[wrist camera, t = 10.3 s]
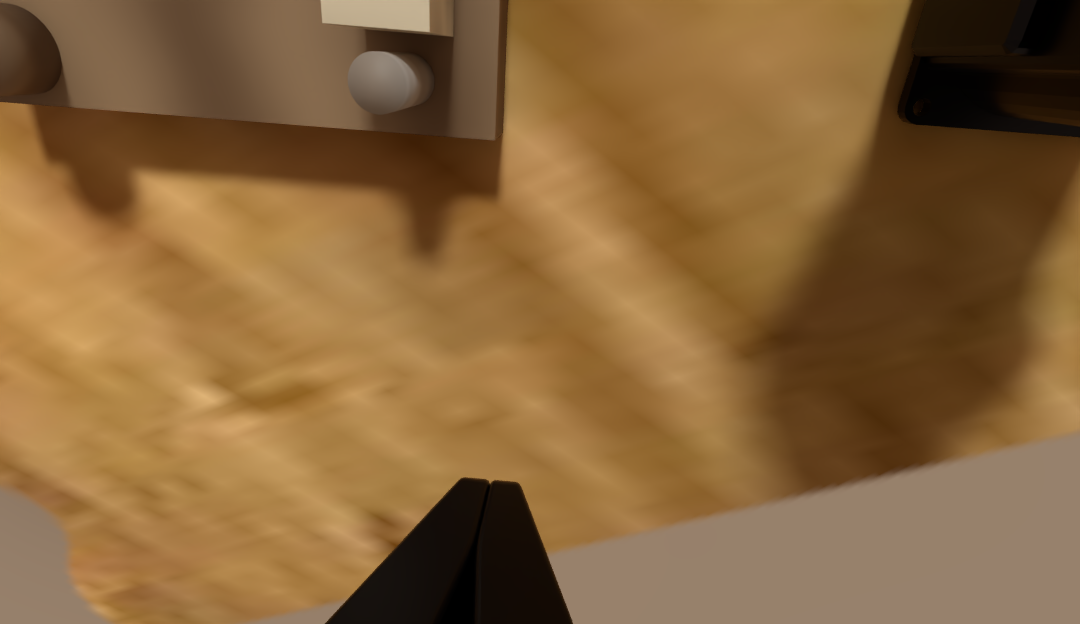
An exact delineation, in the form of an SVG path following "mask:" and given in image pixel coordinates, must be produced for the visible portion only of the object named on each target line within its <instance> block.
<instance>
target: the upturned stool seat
mask: <svg viewBox="0 0 1080 624" xmlns="http://www.w3.org/2000/svg"><path fill="white" fill-rule="evenodd" d="M507 10H508V0H454V25H453V37H450V36H438V35H426V34H415V33H403V32H391V31H380V30H368V29H359V28H353V27H346V26H339V25H333V24H326V23H322V12H321V0H0V102H9V103H22V104H35V105H47V106H60V107H73V108H86V109H99V110H111V111H124V112H137V113H150V114H163V115H175V116H188V117H201V118H214V119H227V120H239V121H252V122H265V123H278V124H291V125H303V126H316V127H329V128H342V129H354V130H367V131H380V132H393V133H406V134H418V135H431V136H444V137H457V138H470V139H482V140H496V139H497V138H498V137H499V136H500V135H501V134H502V133H503V114H504V88H505V62H506V36H507Z"/></svg>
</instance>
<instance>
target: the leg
mask: <svg viewBox="0 0 1080 624" xmlns="http://www.w3.org/2000/svg"><path fill="white" fill-rule="evenodd" d="M321 12H322V23H326V24H333V25H339V26H346V27H353V28H359V29H368V30H380V31H391V32H403V33H415V34H426V35H438V36H450V37H453V25H454V0H321Z"/></svg>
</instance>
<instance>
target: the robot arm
mask: <svg viewBox="0 0 1080 624" xmlns="http://www.w3.org/2000/svg"><path fill="white" fill-rule="evenodd" d="M912 49H913V51H914V53H915V54H914V57H913V60H912V63H911V67H910V70H909V73H908V76H907V79H906V82H905V86H904V89H903V92H902V95H901V98H900V101H899V105H898V115H899V118H900V119H901V120H902V121H903V122H907V123H910V124H916V125H928V126H941V127H954V128H968V129H981V130H994V131H1007V132H1020V133H1033V134H1046V135H1059V136H1072V137H1080V0H926V2H925V5H924V8H923V11H922V14H921V18H920V21H919V24H918V27H917V30H916V34H915V37H914V40H913V43H912ZM920 99H922V101H923V102H924V103H923V108H922V110H921V111H920V112H919V113H918V114H914V112H913V106H914V105H915V103H916V102H917V101H918V100H920ZM325 624H573V623H572V619H571V617H570V614H569V611H568V609H567V606H566V603H565V601H564V599H563V596H562V593H561V590H560V588H559V585H558V582H557V580H556V577H555V574H554V572H553V569H552V567H551V564H550V561H549V559H548V556H547V553H546V551H545V548H544V545H543V543H542V540H541V538H540V535H539V532H538V530H537V527H536V524H535V522H534V519H533V516H532V514H531V511H530V509H529V506H528V503H527V501H526V498H525V495H524V493H523V490H522V488H521V486H520V484H519V483H517V482H510V481H499V480H494V481H492V482H491V484H490V483H489V481H488V480H486V479H477V478H466V477H465V478H461V479H460V480H458V482H457V483H456V484H455V485H454V486H453V487H452V488H451V489H450V490H449V491H448V492H447V493H446V494H445V495H444V497H443V498H442V499H441V500H440V501H439V502H438V503H437V504H436V505H435V506H434V507H433V508H432V509H431V510H430V512H429V513H428V514H427V515H426V516H425V517H424V518H423V519H422V520H421V521H420V522H419V523H418V524H417V525H416V527H415V528H414V529H413V530H412V531H411V532H410V533H409V534H408V535H407V536H406V537H405V538H404V539H403V541H402V542H401V543H400V544H399V545H398V546H397V547H396V548H395V549H394V550H393V551H392V552H391V553H390V554H389V556H388V557H387V558H386V559H385V560H384V561H383V562H382V563H381V564H380V565H379V566H378V567H377V568H376V569H375V571H374V572H373V573H372V574H371V575H370V576H369V577H368V578H367V579H366V580H365V581H364V582H363V583H362V584H361V586H360V587H359V588H358V589H357V590H356V591H355V592H354V593H353V594H352V595H351V596H350V597H349V598H348V599H347V601H346V602H345V603H344V604H343V605H342V606H341V607H340V608H339V609H338V610H337V611H336V612H335V613H334V614H333V616H332V617H331V618H330V619H329V620H328V621H327V622H326V623H325Z"/></svg>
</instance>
